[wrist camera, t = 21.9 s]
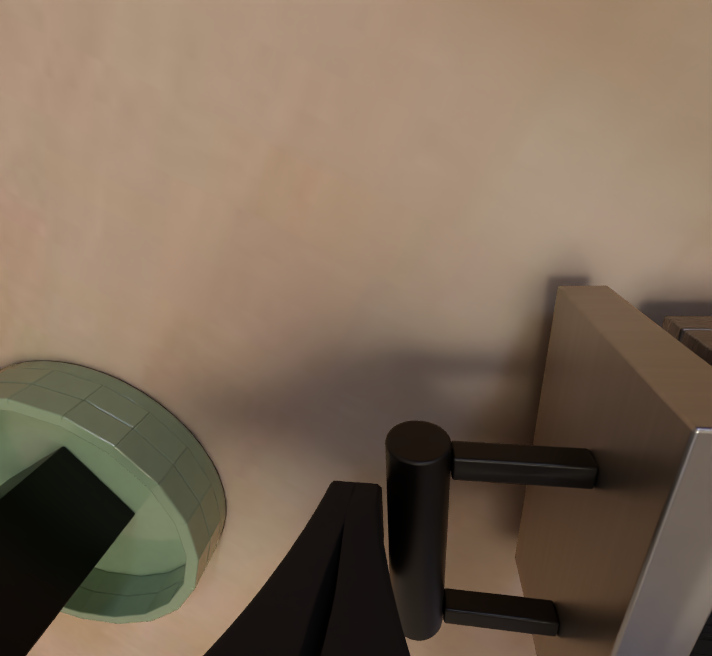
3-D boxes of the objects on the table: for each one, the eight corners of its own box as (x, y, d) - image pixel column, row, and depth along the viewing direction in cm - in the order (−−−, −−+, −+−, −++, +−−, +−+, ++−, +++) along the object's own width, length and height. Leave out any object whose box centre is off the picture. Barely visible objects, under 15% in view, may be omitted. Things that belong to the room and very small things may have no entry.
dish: (247, 581, 19) (224, 640, 17) (33, 556, 21) (-13, 605, 19) (191, 364, 14) (148, 405, 12) (-82, 356, 16) (-163, 390, 14)
